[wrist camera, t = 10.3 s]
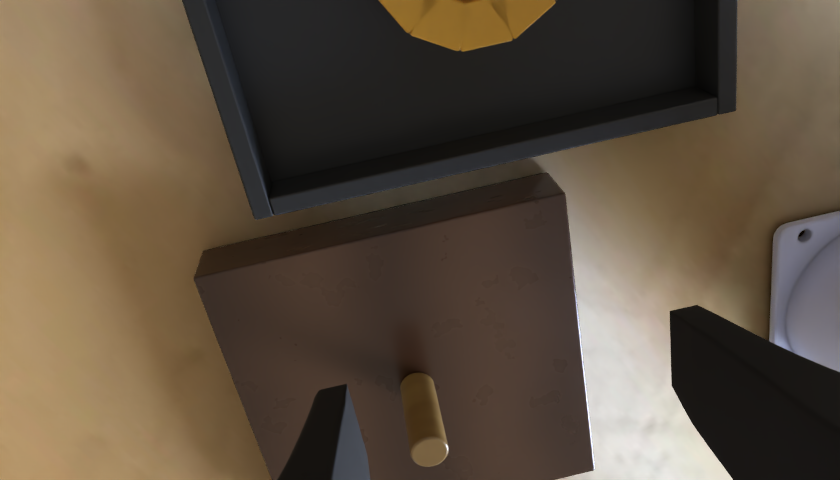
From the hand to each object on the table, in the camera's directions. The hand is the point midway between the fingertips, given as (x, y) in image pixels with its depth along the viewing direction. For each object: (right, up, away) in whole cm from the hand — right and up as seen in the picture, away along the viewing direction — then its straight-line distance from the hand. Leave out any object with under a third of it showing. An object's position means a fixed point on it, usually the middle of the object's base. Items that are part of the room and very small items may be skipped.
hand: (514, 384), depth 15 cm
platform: (-2, -1, +11) cm, 11 cm away
